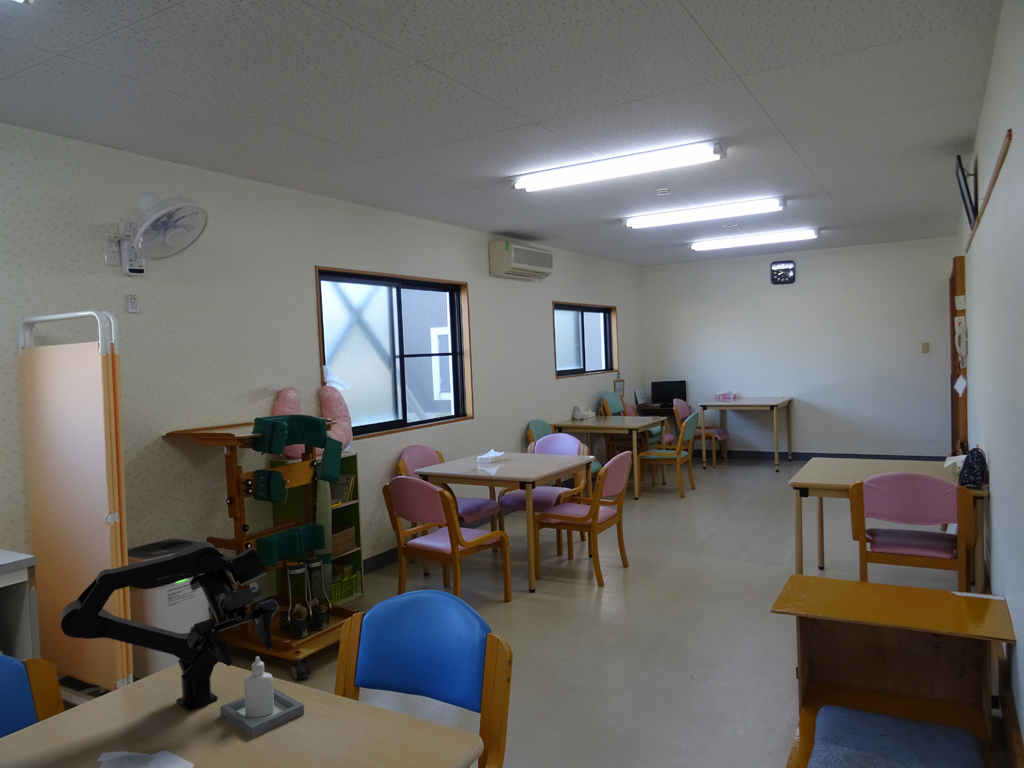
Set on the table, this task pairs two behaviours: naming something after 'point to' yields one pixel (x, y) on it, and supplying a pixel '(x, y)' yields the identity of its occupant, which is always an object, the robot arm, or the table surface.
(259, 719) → the gray rectangular tray
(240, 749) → the table surface
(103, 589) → the robot arm
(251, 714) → the eye dropper bottle
